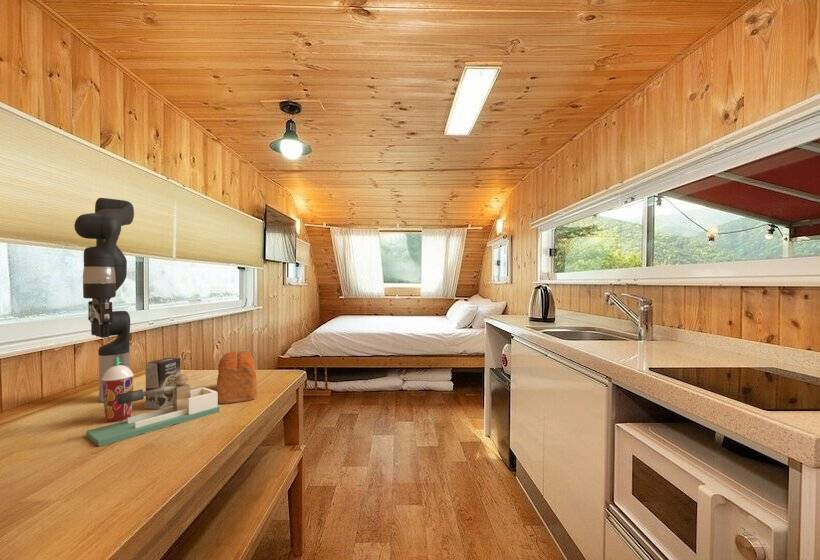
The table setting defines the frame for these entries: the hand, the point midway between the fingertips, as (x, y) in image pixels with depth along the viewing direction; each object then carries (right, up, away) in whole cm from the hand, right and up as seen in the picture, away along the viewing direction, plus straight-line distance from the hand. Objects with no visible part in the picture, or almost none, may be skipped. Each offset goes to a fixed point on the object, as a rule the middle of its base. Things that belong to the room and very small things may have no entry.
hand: (100, 336), depth 111 cm
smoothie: (-2, -28, +9) cm, 30 cm away
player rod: (+14, -26, +4) cm, 30 cm away
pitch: (+14, -28, +5) cm, 32 cm away
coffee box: (+4, -28, +22) cm, 36 cm away
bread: (+25, -28, +35) cm, 51 cm away
